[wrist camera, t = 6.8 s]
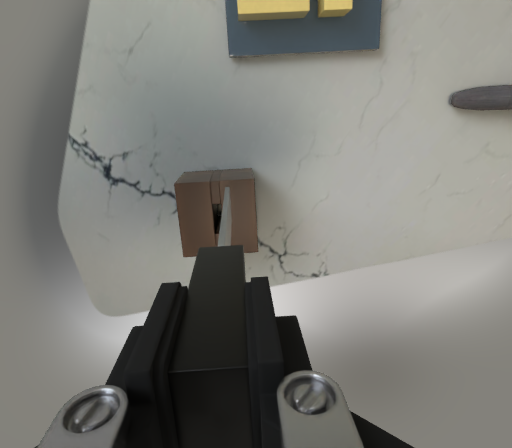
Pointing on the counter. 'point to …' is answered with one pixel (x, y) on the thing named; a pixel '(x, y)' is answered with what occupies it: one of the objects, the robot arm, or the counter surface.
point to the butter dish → (299, 28)
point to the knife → (213, 350)
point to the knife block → (205, 208)
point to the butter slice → (334, 7)
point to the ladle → (484, 98)
